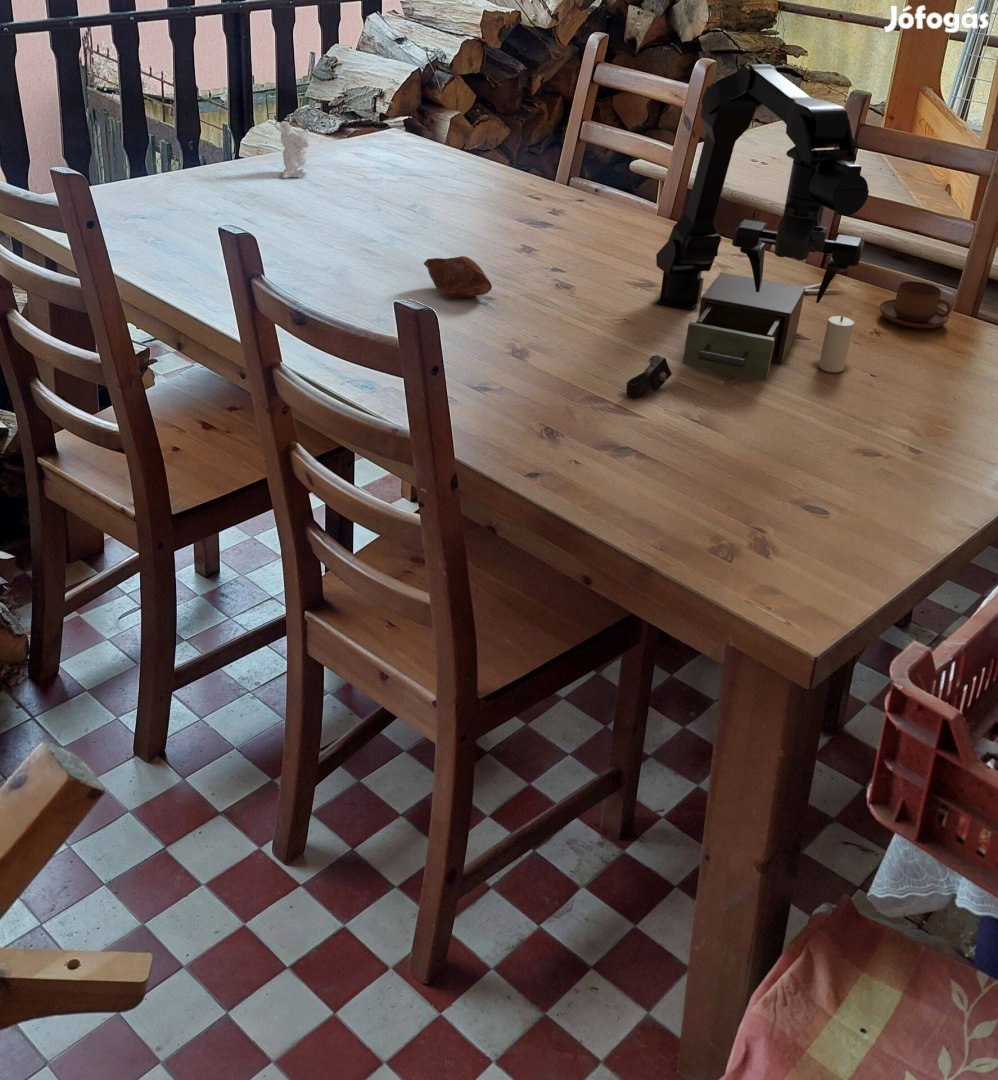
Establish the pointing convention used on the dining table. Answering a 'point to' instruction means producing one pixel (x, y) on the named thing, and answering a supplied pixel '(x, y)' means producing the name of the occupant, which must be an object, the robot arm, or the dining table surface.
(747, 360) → the drawer
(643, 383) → the padlock
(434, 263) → the brown rock
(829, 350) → the candle
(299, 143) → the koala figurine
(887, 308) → the cup and saucer
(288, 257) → the dining table surface
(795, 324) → the cabinet
